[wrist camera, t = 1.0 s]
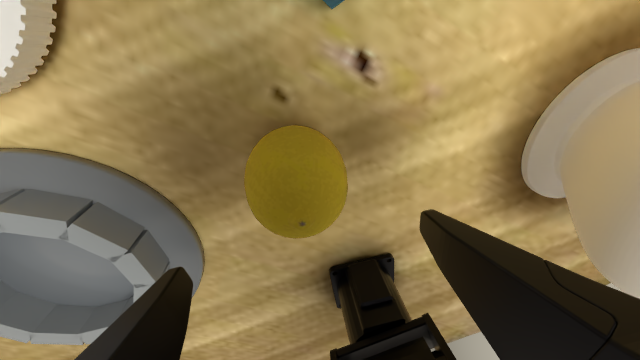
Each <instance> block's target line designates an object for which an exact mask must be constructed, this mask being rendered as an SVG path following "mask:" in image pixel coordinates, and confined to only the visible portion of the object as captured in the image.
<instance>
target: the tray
mask: <svg viewBox="0 0 640 360" xmlns="http://www.w3.org/2000/svg"><path fill="white" fill-rule="evenodd" d="M204 262H205V261H204V251H203V248H202V245H201V241H200V239H199V237H198V235H197V233H196V231H195V230H194V228H193V227H192V225H191V224H190V222H189V221H188V220H187V218H186V217H185V216H184V215H183V214H182V213H181V212H180V211H179V210H178V209H177V208H176V207H175V206H174V205H173V204H172V203H171V202H169V201H168V200H167V199H166V198H165V197H163V196H162V195H160V194H159V193H158V192H156V191H155V190H153V189H152V188H150V187H149V186H147V185H145V184H143V183H142V182H140V181H138V180H136V179H135V178H133V177H131V176H129V175H126V174H124V173H122V172H120V171H118V170H115V169H113V168H111V167H108V166H105V165H102V164H99V163H97V162H94V161H91V160H87V159H83V158H80V157H76V156H72V155H68V154H63V153H57V152H51V151H45V150H35V149H23V148H3V149H0V337H4V338H8V339H12V340H16V341H20V342H24V343H27V342H28V341H31V344H68V345H83V344H84V343H86V344H91V343H92V342H93V341H94V340H95V339H96V338H98V337H99V336H100V335H101V334H102V333H103V332H104V331H105V330H106V329H107V328H108V327H109V326H110V325H111V324H112V323H113V322H114V321H115V320H116V319H117V318H118V317H119V316H121V315H122V314H123V313H124V312H125V311H126V310H127V309H128V308H129V307H130V306H131V305H132V304H133V303H134V302H135V301H136V300H137V299H138V298H139V297H140V296H141V295H142V294H144V293H145V292H146V291H147V290H148V289H149V288H150V287H151V286H152V285H153V284H154V283H155V282H156V281H157V280H158V279H159V278H160V277H161V276H162V275H163V274H164V273H165V272H166V271H168V270H169V269H171V268H175V267H183V268H184V269H185V270H186V272H187V273H188V275H189V276H190V277H191V279H192V281H193V292H192V297H193V295H194V294H195V292H196V290H197V288H198V286H199V283H200V280H201V277H202V274H203V271H204Z"/></svg>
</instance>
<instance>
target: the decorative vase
mask: <svg viewBox="0 0 640 360" xmlns="http://www.w3.org/2000/svg"><path fill="white" fill-rule="evenodd" d="M521 171H522V176H523V179H524V181H525V183H526V185H527V186H528V187H529V188H530V189H531V190H533V191H535V192H536V193H538V194H540V195H542V196H545V197H549V198H565V197H566V200H567V203H568V207H569V211H570V214H571V217H572V221H573V224H574V227H575V229H576V232H577V235H578V237H579V240H580V242H581V244H582V246H583V248H584V250H585V252H586V254H587V256H588V257H589V259H590V260H591V262H592V263H593V265H594V266H595V267H596V268H597V269H598V271H599V272H600V273H601V274H602V275H603V276H604V277H605V278H606V279H608V280H609V281H610V282H611V283H612V284H614V285H615V286H616V287H617V288H619V289H620V290H621V291H623V292H624V293H626V294H629V295H631V296H634V297H636V298H639V299H640V48H636V49H631V50H627V51H623V52H620V53H618V54H615V55H613V56H611V57H609V58H606V59H605V60H603V61H601V62H599V63H597V64H596V65H594V66H593V67H591V68H589V69H588V70H587V71H585V72H584V73H582V74H581V75H580V76H578V77H577V78H576V79H575V80H574V81H572V82H571V83H570V84H569V85H568V86H567V87H566V88H565V89H564V90H563V91H562V92H561V93H560V94H559V95H558V96H557V97H556V98H555V99H554V100H553V101H552V102H551V103H550V105H549V106H548V107H547V108H546V110H545V111H544V112H543V114H542V115H541V116H540V118H539V119H538V121H537V123H536V124H535V126H534V128H533V129H532V131H531V133H530V135H529V137H528V140H527V142H526V145H525V148H524V151H523V155H522V161H521Z"/></svg>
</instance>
